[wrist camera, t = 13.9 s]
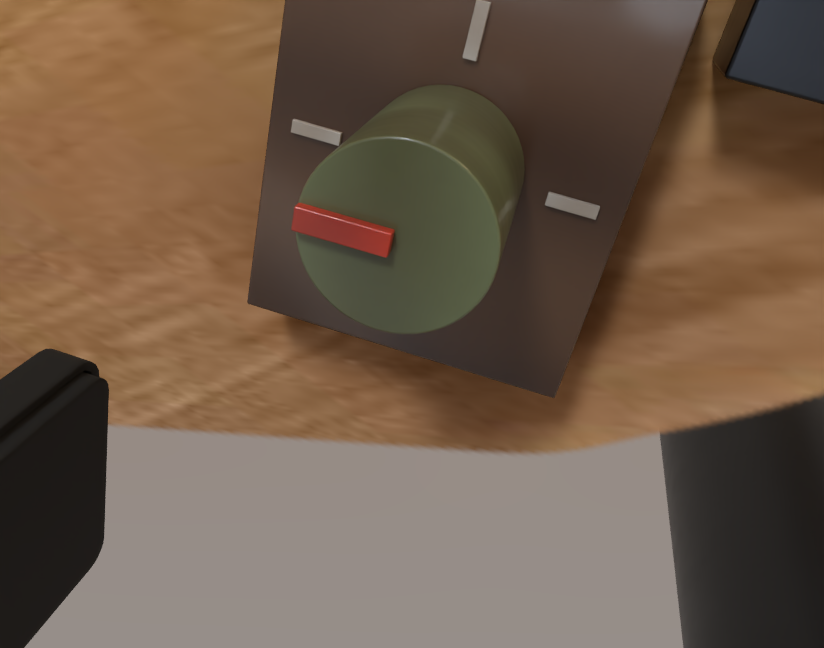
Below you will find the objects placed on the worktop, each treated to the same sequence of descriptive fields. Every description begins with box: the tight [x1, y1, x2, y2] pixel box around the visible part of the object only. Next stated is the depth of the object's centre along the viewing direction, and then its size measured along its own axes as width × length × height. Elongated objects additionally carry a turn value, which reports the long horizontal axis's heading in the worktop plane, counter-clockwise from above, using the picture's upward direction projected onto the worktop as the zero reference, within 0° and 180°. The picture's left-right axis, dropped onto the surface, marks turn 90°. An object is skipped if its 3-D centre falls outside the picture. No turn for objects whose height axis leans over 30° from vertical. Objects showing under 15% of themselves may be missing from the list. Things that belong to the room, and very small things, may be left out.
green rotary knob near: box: [291, 85, 525, 334], centre depth 18 cm, size 4×4×6 cm
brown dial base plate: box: [248, 0, 707, 398], centre depth 22 cm, size 12×10×3 cm
